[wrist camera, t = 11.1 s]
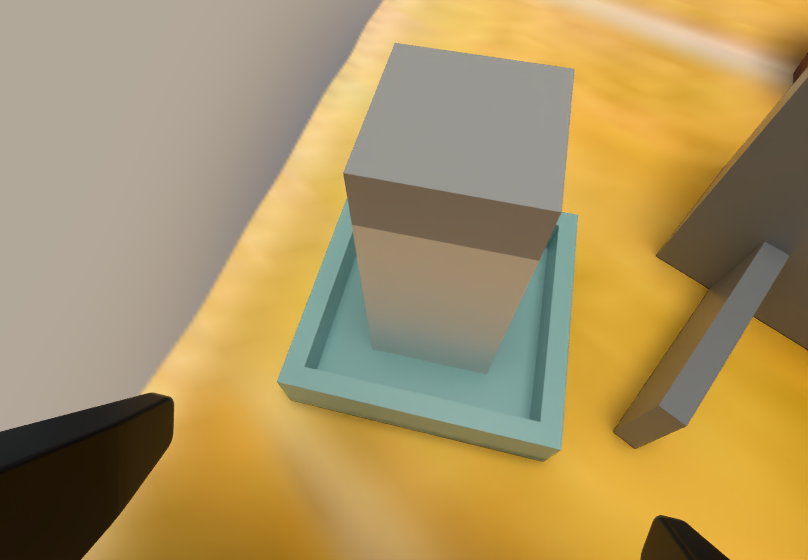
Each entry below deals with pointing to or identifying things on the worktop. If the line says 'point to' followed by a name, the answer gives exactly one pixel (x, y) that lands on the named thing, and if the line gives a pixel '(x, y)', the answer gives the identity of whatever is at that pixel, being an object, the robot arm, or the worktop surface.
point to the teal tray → (435, 383)
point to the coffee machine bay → (736, 266)
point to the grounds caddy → (455, 198)
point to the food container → (800, 69)
